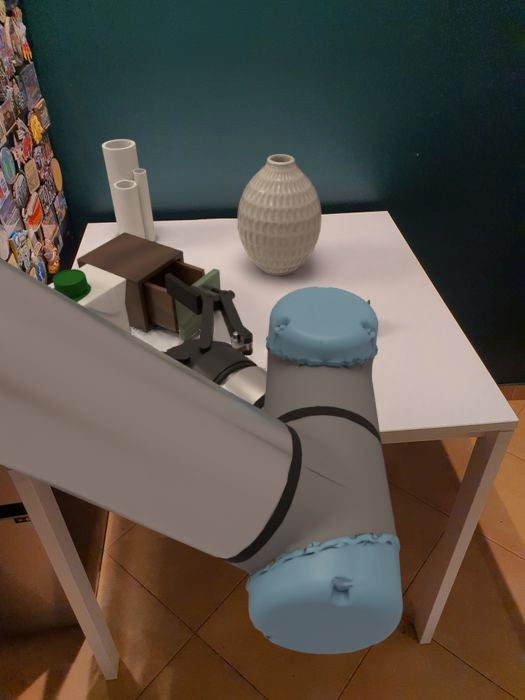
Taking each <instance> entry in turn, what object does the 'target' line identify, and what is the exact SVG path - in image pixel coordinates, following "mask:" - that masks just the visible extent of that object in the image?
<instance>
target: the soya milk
mask: <svg viewBox="0 0 525 700" xmlns="http://www.w3.org/2000/svg"><path fill="white" fill-rule="evenodd" d="M47 285H48V286H49V287H51V288H53V289H54V290H56V291H58V292H60V293H61V294H63V295H65V296H67V297H68V298H70V299H72V300H73V301H75V302H77V303H79V304H80V305H82V306H84V307H85V308H87V309H89V310H91V311H92V312H94V313H96V314H97V315H99V316H101V317H103V318H104V319H106V320H108V321H110V322H111V323H113V324H115V325H116V326H118V327H120V328H122V329H123V330H125V331H127V332H128V333H130V334H132V331H131V326H130V325H129V321H128V316H127V311H126V306H125V291H126V279H125V278H122V277H120V276H117V275H115V274H112V273H109V272H107V271H104V270H102V269H99V268H97V267H94V266H92V265H89V264H86V265H84V266H82V267H81V268H79V267H78V268H72V269H71V268H70V269H69V268H68V269H64V270H61V271H59V272H58V273H56V274H54V276H53V277H52V282H51V283H49V284H47Z"/></svg>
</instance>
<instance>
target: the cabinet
mask: <svg viewBox="0 0 525 700" xmlns="http://www.w3.org/2000/svg"><path fill="white" fill-rule="evenodd" d="M184 258H185V257H184V251H183V250H180V249H177V248H175V247H171V246H168V245H165V244H162V243H159V242H156V241H150V240H147V239H144V238H141V237H138V236H135V235H132V234H129V233H125V232H124V233H122V234H120V235H119V234H118V235H117V236H115V237H113V238H111V239H110V240H108V241H107V242H104V243H103V244H101V245H99V246H97V247H96V248H94V249H92V250H90V251H88V252H87V253H85V254H83V255H81V256H80V257H78V258H76V262H77V266H78V269H79V268H81V267H82V266H84V265H86V264H89V265H92V266H94V267H97V268H99V269H102V270H104V271H107V272H109V273H112V274H115V275H117V276H120V277H122V278H125V279H126V291H125V306H126V311H127V316H128V321H129V326H130V327H133V328H135V329H138V330H140V331H142V332H144V333H148V332H150V330H152V329H153V328H154V327H155V326H157V324H154V323H152V322H149V321H148V317H147V311H146V305H145V300H144V294H143V288H142V283H144V282H145V281H147V280H148V279H150V278H151V277H152V276H154V275H155V274H157V273H158V272H160V271H161V270H163V269H164V268H166V267H167V266H169V265H170V264H172V263H173V262H175V261H176V260H178V261H181V262H184V263H185V259H184Z"/></svg>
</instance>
